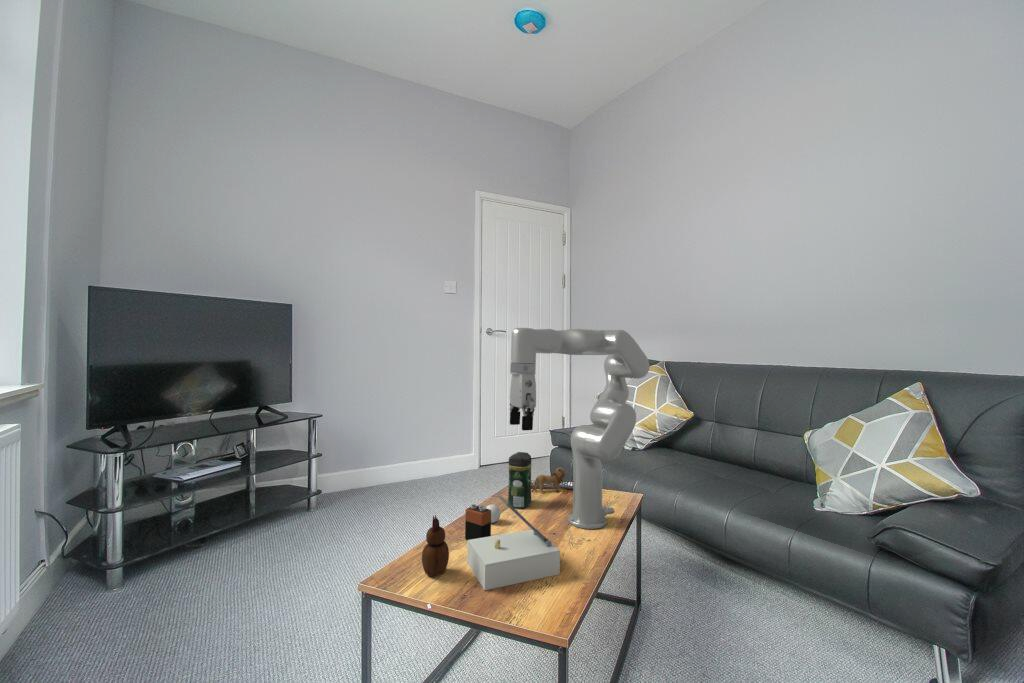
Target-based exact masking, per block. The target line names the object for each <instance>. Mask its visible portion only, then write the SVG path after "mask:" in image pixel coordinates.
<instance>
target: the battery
mask: <svg viewBox="0 0 1024 683" xmlns="http://www.w3.org/2000/svg"><path fill="white" fill-rule="evenodd" d="M486 507H487V506H483V505H480V506H479V505H477V504H471V506H470V507H468V508H466V509H465V519H464V520H465V521H464V522H465V523H464V525H465V528H464V529H465V532H464V538H465V540H467V541H468V540H471V539H477V538H483V537H489V536H492V523H491V510H490V509H486Z"/></svg>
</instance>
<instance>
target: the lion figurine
mask: <svg viewBox="0 0 1024 683" xmlns="http://www.w3.org/2000/svg"><path fill="white" fill-rule="evenodd" d="M565 477H566V469H565V468H563V467H558V468H556V470H555V471H554V472H553V473H552V474H549V475H545V474H540V475H539V474H538V475H537V476H536V478H535V480H534V483H533V488H532V489H531V493H533V492H537V487H538V486H539V491H540V492H541V493H542V494H545V493H546V492H545V491H544V490H543V487H544V485H545V484H546V485H548V486H552V487H553V486H555V489H556V490H555V492H556V491H559V487H560V485H561V484H562V483H563V482H564V480H565Z"/></svg>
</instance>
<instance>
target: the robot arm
mask: <svg viewBox="0 0 1024 683" xmlns="http://www.w3.org/2000/svg"><path fill="white" fill-rule="evenodd" d="M510 340H511V346H510V368H509V369H510V370H509V371H510V372H509V374H511V379H510V389H509V425H510V426H511V425H512V426H514V425H515V426H516V425H517V426H518V425H520V424H521V431H533V430H534V429H533V426H534V425H533V424H534V415H535V413H534V412H535V408H536V407H537V384H536V383H537V382H536V366H537V365H536V363H537V354H548V355H549V354H561V355H571V356H606V357H605V359H604V362H603V369H604V374H605V380H606V382H605V388H604V389H603V391H602V392H601V395H600V396H599V397H598V398H597V401H596V402H595V403H594V405H593V407H592V409H591V411H590V414H589V419H590V422H591V424H593V425H594V426H593V425H589V424H582V425H579V426H577V427H574V429H573V430H572V432H571V435H570V445H571V453H572V460H573V461H572V462H573V463H572V464H573V465H572V466H573V468H572V469H573V472H572V473H573V475H572V476H573V477H572V478H573V482H572V483H573V484H572V490H573V491H572V512H571V513H570V514H568V516H567V521H568V522H569V524H570V525H572V526H574V527H576V528H580V529H587V530H593V529H594V530H596V529H601V528H604V527H605V526H606V525H607V523H608V522H607V518H606V516H607V515H612V514H615V509H614V507H607V506H606V505H605V506H603V472H604V471H603V465H602V461H601V460H604V461H606V462H607V461H614V459H616V458H617V457H618V456H619V455H620V453H621V452H622V450H623V449H624V447H625V445H626V443H627V441H628V440H629V438H630V436H631V434H632V433H633V431H634V428H635V427H636V424H637V412H636V410H635V408H634V407H633V406H632V405H631V404H629V403H627V401H628V399H629V396H630V391H629V390H630V389H629V387H628V383H627V380H626V379H642V378H645V377H646V376H647V375H648V374H649V372H650V363H649V362H650V360H649V359H648V357H647V355H646V353H645V352H644V350H642V348H641V347H640V345H639V344H638V343H637V341H636V340H635V339H634V337H632V336H631V335H630V333H629V332H627V331H626V330H624V329H587V328H586V329H581V328H576V329H575V328H572V329H571V328H570V329H562V330H560V329H559V330H557V329H553V328H540V329H539V328H538V329H537V328H536V329H534V328H531V327H530V328H529V327H515V328H513V329H512V330H511V339H510ZM520 410H522V416H521V411H520Z"/></svg>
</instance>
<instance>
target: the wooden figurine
mask: <svg viewBox="0 0 1024 683" xmlns="http://www.w3.org/2000/svg"><path fill="white" fill-rule="evenodd" d="M431 526H432V527H429V529H428V530H427V531H426V535H425V541H426V545H425V546H424V547H423V549H422V552H421V563H422V569H423V571H424V573H425V574H426V575H427V576H429V577H433V578H434V577H438V576H441V575H442V574H443V573H445V571H446V568H447V566H448V563H449V559H450V551H449V546H448V543H447V542H446V541H445V540H446V530H445V529H444V527H443V526H440V520H439V519H438V518H437V515H432V525H431Z"/></svg>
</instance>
